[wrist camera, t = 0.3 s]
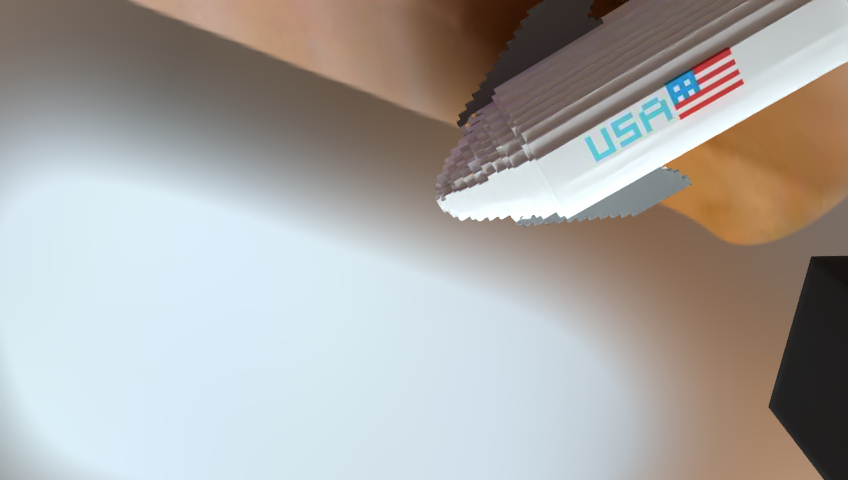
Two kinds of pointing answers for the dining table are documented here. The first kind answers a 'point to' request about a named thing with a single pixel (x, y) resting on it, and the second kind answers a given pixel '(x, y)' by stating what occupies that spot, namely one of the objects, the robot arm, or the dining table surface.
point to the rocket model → (625, 100)
